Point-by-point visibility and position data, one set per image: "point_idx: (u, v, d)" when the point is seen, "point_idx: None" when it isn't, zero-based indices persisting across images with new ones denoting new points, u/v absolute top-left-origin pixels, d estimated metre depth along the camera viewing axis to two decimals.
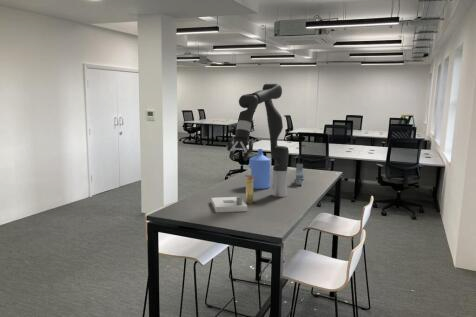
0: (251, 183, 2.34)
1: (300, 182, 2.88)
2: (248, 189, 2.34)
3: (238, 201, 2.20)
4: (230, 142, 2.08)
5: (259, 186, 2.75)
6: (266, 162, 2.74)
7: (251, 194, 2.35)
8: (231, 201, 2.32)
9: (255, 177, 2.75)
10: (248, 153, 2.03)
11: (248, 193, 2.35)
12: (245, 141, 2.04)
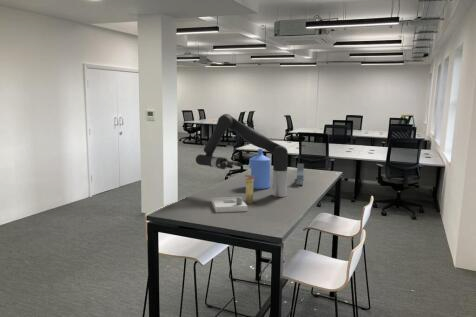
0: (251, 183, 2.34)
1: (301, 182, 2.88)
2: (248, 189, 2.34)
3: (238, 201, 2.20)
4: None
5: (259, 186, 2.75)
6: (266, 162, 2.74)
7: (251, 194, 2.35)
8: (231, 201, 2.32)
9: (255, 177, 2.75)
10: (226, 165, 2.41)
11: (248, 193, 2.35)
12: None
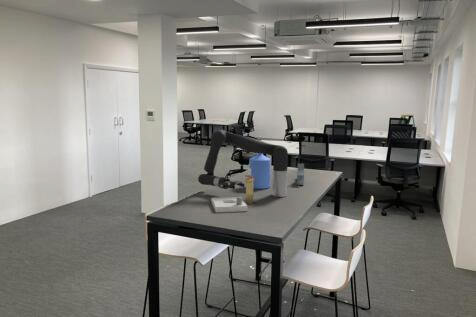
0: (251, 183, 2.34)
1: (302, 182, 2.88)
2: (248, 189, 2.34)
3: (238, 201, 2.20)
4: (236, 184, 2.53)
5: (259, 186, 2.75)
6: (266, 162, 2.74)
7: (251, 194, 2.35)
8: (231, 201, 2.32)
9: (255, 177, 2.75)
10: (228, 186, 2.41)
11: (248, 193, 2.35)
12: None
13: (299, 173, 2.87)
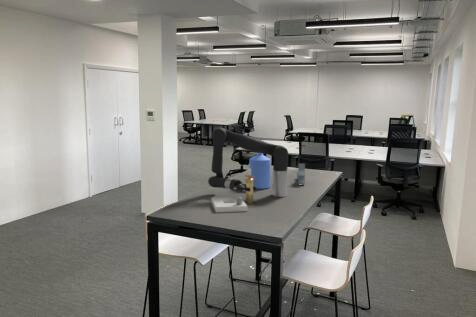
0: (251, 183, 2.34)
1: (303, 182, 2.88)
2: None
3: (238, 201, 2.20)
4: None
5: (259, 186, 2.75)
6: (266, 162, 2.74)
7: (251, 194, 2.35)
8: (231, 201, 2.32)
9: (255, 177, 2.75)
10: (244, 188, 2.34)
11: (248, 193, 2.35)
12: None
13: (300, 173, 2.87)
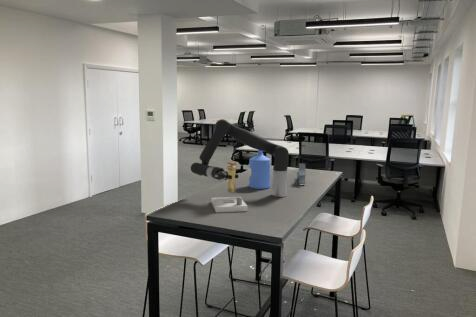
0: (233, 171, 2.25)
1: (303, 182, 2.89)
2: None
3: (238, 201, 2.20)
4: None
5: (259, 186, 2.75)
6: (266, 162, 2.74)
7: (233, 182, 2.26)
8: (231, 201, 2.32)
9: (255, 177, 2.75)
10: (225, 176, 2.25)
11: (230, 181, 2.26)
12: None
13: (301, 173, 2.88)
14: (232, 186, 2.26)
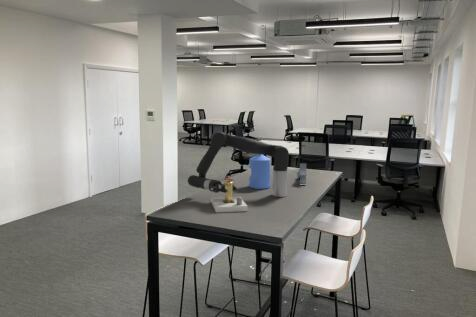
0: (230, 186, 2.25)
1: (304, 182, 2.89)
2: (227, 192, 2.25)
3: (238, 201, 2.20)
4: None
5: (259, 186, 2.75)
6: (266, 162, 2.74)
7: (230, 197, 2.26)
8: None
9: (255, 177, 2.75)
10: (219, 189, 2.24)
11: (227, 196, 2.25)
12: None
13: (302, 173, 2.88)
14: (229, 201, 2.26)
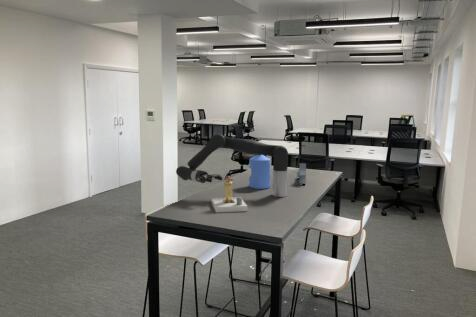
0: (230, 186, 2.25)
1: (304, 181, 2.90)
2: (227, 192, 2.25)
3: (238, 201, 2.20)
4: None
5: (259, 186, 2.75)
6: (266, 162, 2.74)
7: (230, 197, 2.26)
8: None
9: (255, 177, 2.75)
10: (205, 179, 2.32)
11: (227, 196, 2.25)
12: None
13: (301, 173, 2.89)
14: (229, 201, 2.26)
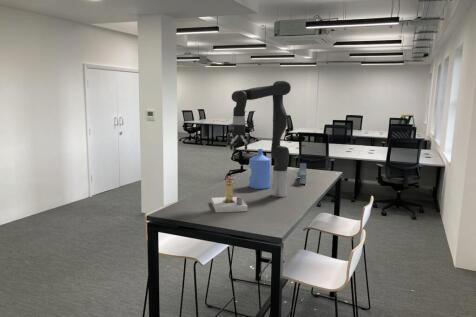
0: (230, 186, 2.25)
1: (304, 181, 2.91)
2: (227, 192, 2.25)
3: (238, 201, 2.20)
4: None
5: (259, 186, 2.75)
6: (266, 162, 2.74)
7: (230, 197, 2.26)
8: None
9: (255, 177, 2.75)
10: (230, 144, 2.36)
11: (227, 196, 2.25)
12: None
13: (302, 172, 2.89)
14: (229, 201, 2.26)
